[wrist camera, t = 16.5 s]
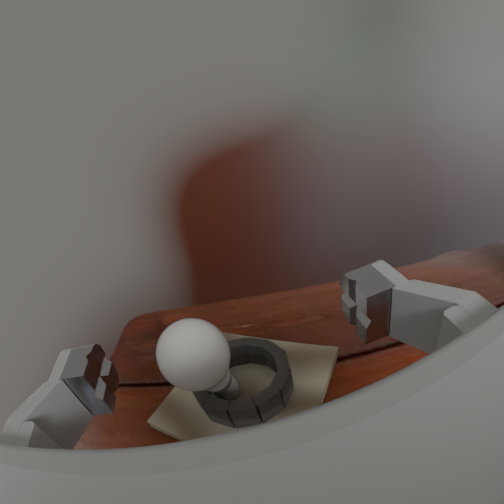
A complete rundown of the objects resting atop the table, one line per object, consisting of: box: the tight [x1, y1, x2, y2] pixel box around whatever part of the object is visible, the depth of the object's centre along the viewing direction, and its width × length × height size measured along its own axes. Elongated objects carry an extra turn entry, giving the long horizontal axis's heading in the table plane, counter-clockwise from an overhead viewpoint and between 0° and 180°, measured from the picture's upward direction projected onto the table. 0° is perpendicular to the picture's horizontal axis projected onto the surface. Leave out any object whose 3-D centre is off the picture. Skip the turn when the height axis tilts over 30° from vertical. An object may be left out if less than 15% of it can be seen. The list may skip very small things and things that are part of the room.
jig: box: [147, 332, 338, 441], centre depth 28 cm, size 16×16×4 cm
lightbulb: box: [156, 318, 240, 400], centre depth 25 cm, size 6×6×11 cm
